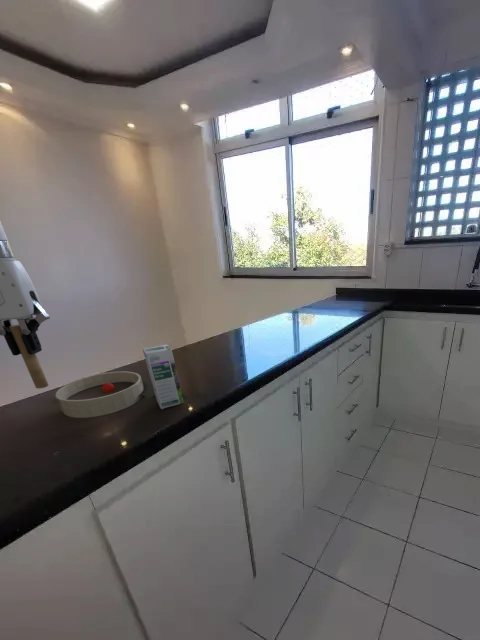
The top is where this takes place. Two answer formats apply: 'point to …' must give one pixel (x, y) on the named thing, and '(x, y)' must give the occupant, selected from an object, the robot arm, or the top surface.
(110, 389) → the ball
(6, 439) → the top surface
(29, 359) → the stick
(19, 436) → the top surface
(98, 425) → the top surface
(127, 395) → the ring
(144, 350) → the syrup box
